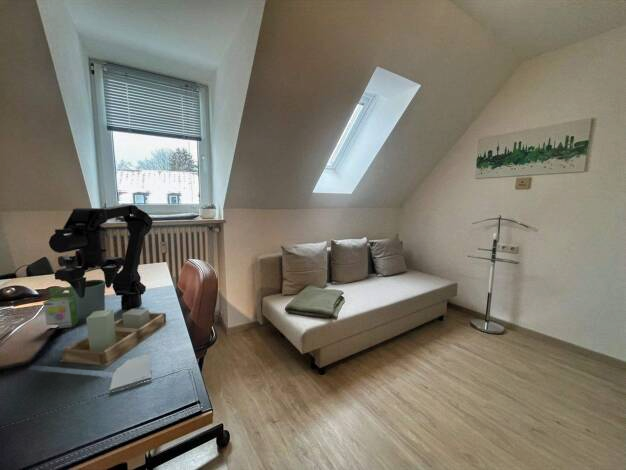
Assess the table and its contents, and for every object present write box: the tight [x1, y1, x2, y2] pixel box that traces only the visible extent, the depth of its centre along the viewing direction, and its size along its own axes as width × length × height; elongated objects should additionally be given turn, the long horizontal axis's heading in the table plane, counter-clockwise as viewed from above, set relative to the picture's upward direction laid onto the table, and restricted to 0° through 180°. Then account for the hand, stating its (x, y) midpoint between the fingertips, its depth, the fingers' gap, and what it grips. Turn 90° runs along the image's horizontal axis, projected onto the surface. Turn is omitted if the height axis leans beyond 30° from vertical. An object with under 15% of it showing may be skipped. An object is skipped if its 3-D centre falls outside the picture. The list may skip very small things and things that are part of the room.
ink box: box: [42, 286, 79, 329], centre depth 86 cm, size 7×4×13 cm, turn 105°
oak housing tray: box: [59, 311, 169, 366], centre depth 78 cm, size 24×14×4 cm, turn 174°
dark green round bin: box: [69, 279, 106, 319], centre depth 96 cm, size 10×10×12 cm
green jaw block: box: [85, 309, 116, 352], centre depth 71 cm, size 4×4×11 cm
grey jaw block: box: [122, 308, 150, 329], centre depth 83 cm, size 4×6×6 cm, turn 84°
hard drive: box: [108, 353, 153, 393], centre depth 64 cm, size 2×8×12 cm
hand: (95, 292), depth 84 cm, fingers open, 9 cm apart
